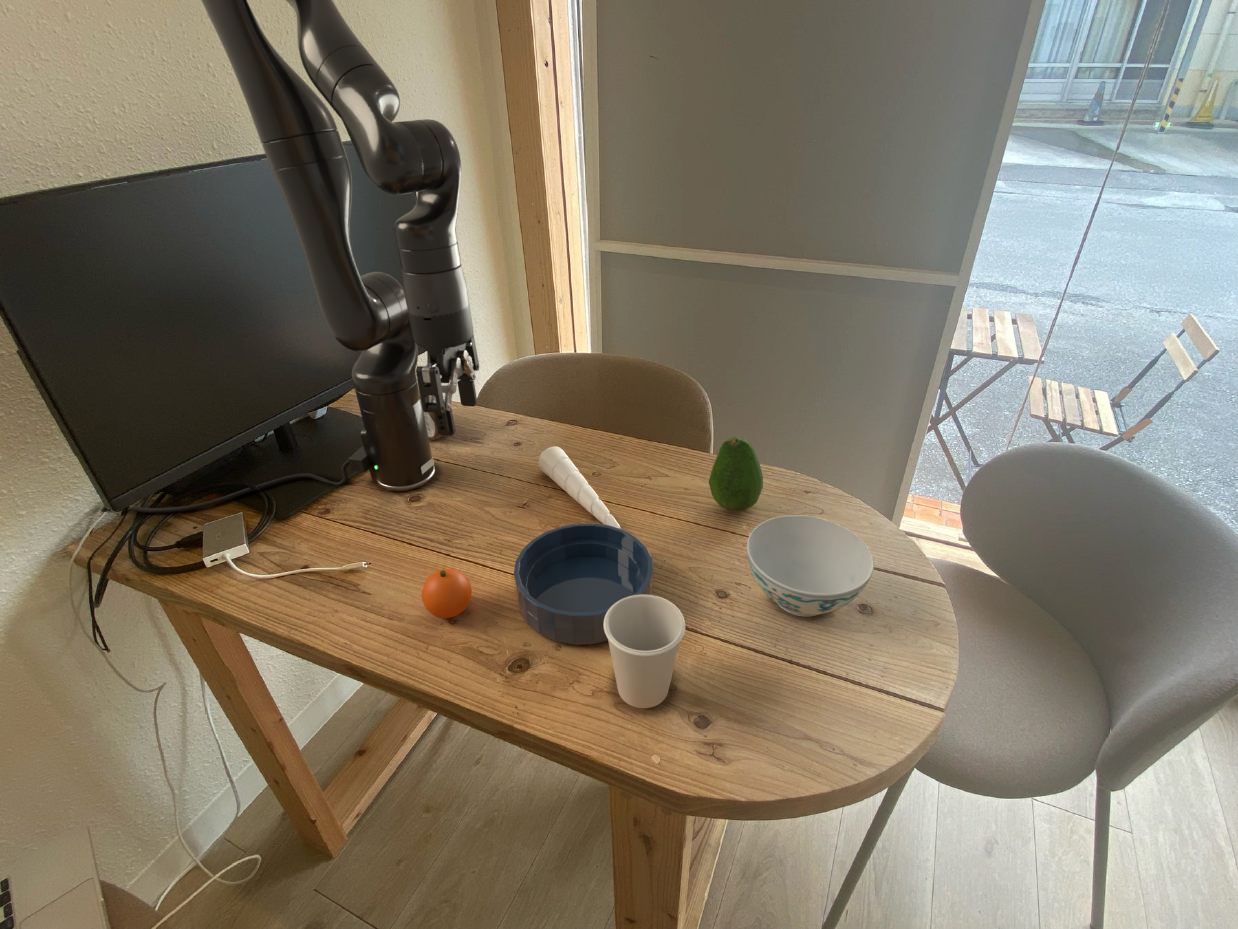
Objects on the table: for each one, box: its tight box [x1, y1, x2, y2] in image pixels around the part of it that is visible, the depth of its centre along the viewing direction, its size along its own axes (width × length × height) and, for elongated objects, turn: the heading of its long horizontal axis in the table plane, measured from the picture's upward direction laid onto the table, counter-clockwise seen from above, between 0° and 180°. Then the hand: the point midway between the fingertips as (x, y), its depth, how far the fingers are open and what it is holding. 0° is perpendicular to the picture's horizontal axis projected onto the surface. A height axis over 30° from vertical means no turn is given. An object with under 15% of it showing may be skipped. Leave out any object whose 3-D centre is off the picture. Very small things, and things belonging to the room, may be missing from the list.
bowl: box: [513, 522, 654, 645], centre depth 81 cm, size 17×17×6 cm
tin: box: [423, 395, 445, 441], centre depth 118 cm, size 15×3×8 cm, turn 47°
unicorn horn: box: [537, 446, 621, 529], centre depth 98 cm, size 5×24×5 cm, turn 29°
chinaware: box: [746, 514, 875, 618], centre depth 80 cm, size 15×15×8 cm
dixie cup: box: [604, 594, 686, 709], centre depth 68 cm, size 8×8×10 cm
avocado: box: [708, 436, 764, 512], centre depth 96 cm, size 8×8×12 cm
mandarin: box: [421, 568, 473, 619], centre depth 79 cm, size 6×6×6 cm
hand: (458, 419), depth 88 cm, fingers open, 8 cm apart
